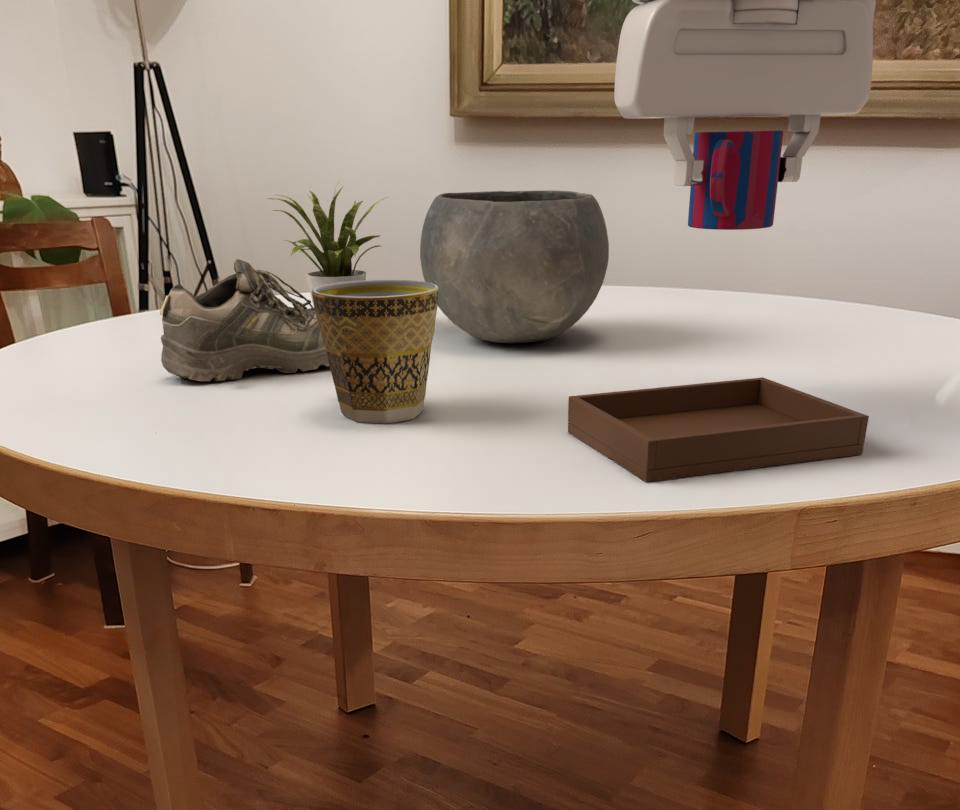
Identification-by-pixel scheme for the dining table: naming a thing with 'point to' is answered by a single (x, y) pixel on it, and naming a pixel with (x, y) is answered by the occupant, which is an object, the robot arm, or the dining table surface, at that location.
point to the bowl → (515, 261)
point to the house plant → (331, 243)
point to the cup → (736, 180)
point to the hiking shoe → (239, 329)
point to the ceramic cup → (378, 345)
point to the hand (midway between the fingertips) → (736, 183)
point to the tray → (714, 427)
